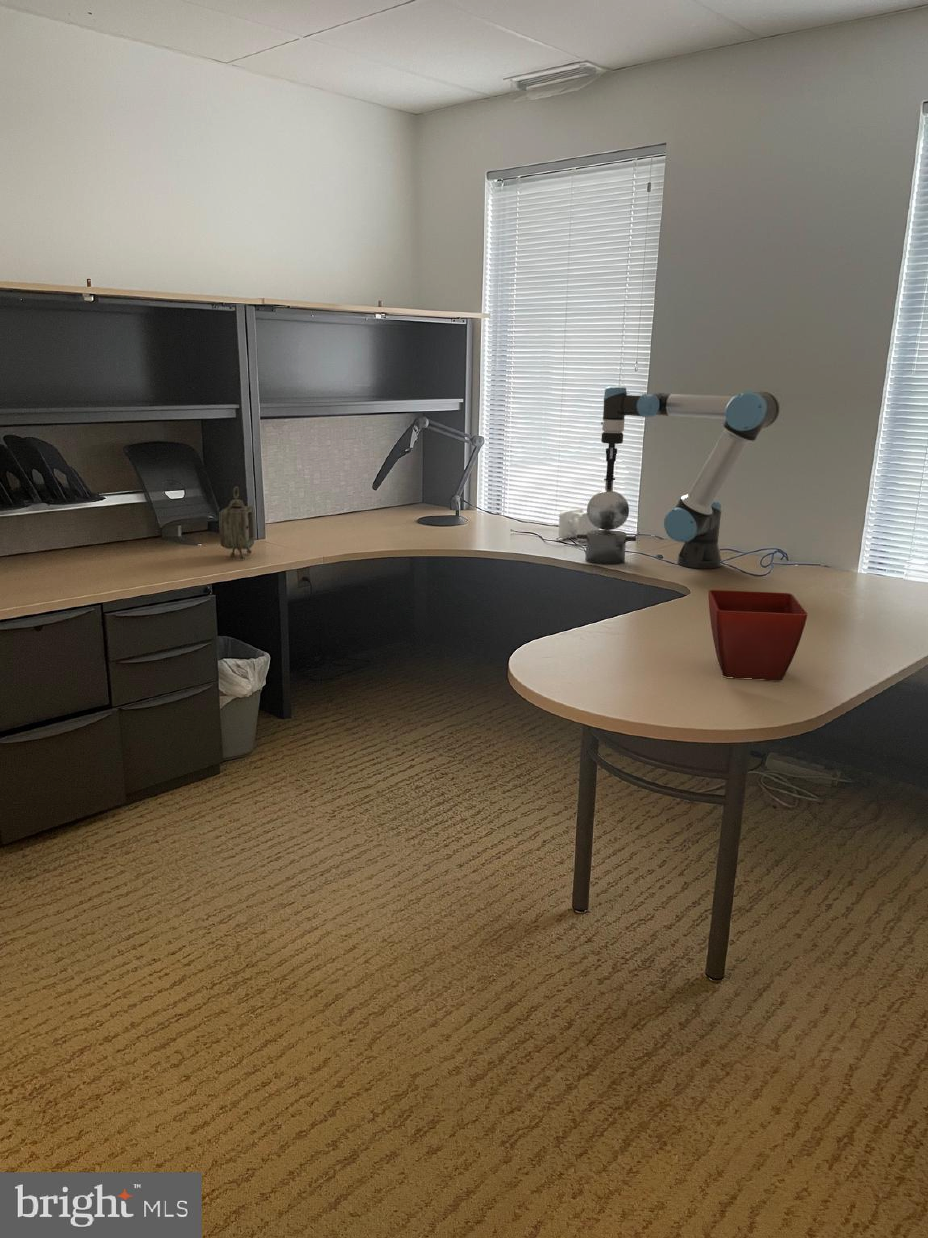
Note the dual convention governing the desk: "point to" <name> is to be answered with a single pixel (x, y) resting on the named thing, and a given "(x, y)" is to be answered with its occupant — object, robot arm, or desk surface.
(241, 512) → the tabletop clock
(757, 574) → the desk surface
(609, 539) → the pot
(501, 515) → the desk surface
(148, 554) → the desk surface
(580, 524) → the cable organizer
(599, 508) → the lid
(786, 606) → the plant pot
